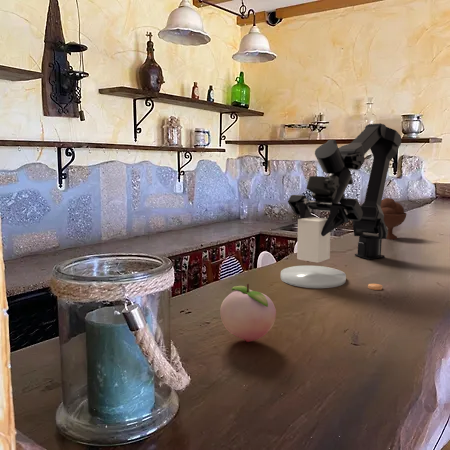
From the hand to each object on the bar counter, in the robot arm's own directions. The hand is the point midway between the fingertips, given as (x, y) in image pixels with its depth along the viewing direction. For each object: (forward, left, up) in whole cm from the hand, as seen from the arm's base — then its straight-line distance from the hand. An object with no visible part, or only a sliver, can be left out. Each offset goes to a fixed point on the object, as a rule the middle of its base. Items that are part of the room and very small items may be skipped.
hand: (311, 233), depth 110 cm
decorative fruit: (+33, +25, -12) cm, 43 cm away
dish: (-1, -1, -12) cm, 12 cm away
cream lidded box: (-1, -1, -7) cm, 7 cm away
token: (-9, +12, -12) cm, 19 cm away
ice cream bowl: (-62, -33, -12) cm, 71 cm away
